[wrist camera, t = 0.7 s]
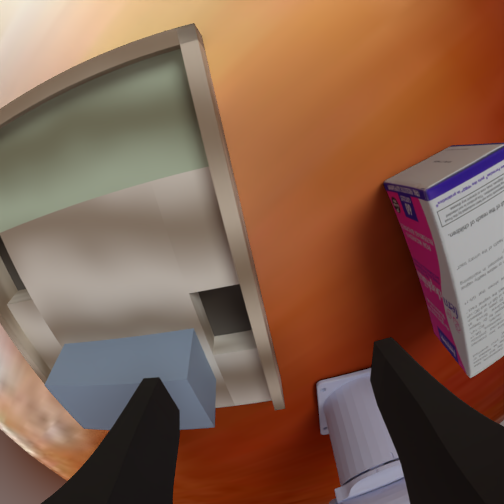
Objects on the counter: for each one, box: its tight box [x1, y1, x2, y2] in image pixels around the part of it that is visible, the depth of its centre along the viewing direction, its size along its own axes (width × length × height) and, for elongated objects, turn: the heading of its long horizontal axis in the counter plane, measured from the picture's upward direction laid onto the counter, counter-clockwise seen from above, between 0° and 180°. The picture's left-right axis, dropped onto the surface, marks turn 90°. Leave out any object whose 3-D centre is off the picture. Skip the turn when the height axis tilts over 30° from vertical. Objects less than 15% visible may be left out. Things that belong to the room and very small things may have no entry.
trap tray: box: [0, 23, 285, 410], centre depth 18 cm, size 24×18×3 cm
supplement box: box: [384, 143, 504, 378], centre depth 15 cm, size 6×6×12 cm
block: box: [45, 328, 216, 430], centre depth 18 cm, size 5×10×4 cm, turn 101°
